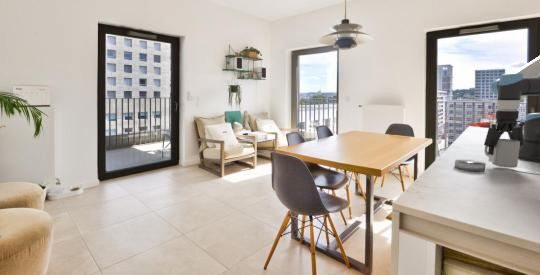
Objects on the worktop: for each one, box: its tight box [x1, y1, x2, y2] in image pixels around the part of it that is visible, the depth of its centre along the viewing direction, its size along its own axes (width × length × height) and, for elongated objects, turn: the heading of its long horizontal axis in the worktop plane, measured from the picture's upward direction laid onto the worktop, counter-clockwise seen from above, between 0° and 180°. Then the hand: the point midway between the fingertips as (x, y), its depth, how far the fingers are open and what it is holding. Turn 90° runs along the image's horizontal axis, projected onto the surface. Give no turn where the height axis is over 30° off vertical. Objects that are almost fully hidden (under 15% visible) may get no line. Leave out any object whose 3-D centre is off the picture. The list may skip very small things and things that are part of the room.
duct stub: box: [454, 158, 487, 173], centre depth 125 cm, size 11×11×3 cm
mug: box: [484, 138, 520, 169], centre depth 124 cm, size 12×8×11 cm
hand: (501, 161), depth 125 cm, fingers closed on mug, 9 cm apart
